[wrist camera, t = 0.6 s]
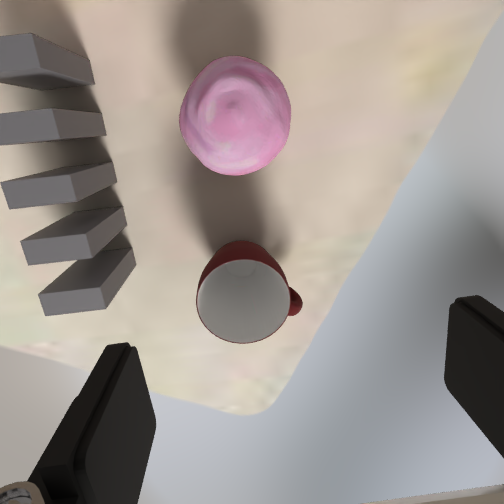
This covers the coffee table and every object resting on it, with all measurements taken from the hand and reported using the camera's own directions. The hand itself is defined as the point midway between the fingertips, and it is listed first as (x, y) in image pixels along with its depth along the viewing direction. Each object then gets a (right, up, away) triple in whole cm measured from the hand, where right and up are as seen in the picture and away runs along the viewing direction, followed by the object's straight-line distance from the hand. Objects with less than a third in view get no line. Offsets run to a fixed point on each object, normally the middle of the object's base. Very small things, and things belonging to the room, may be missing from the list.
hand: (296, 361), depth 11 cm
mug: (-1, +2, +29) cm, 29 cm away
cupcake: (-3, +16, +24) cm, 29 cm away
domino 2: (-18, +15, +24) cm, 33 cm away
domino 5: (-17, +3, +28) cm, 33 cm away
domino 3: (-18, +11, +25) cm, 32 cm away
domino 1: (-18, +19, +22) cm, 35 cm away
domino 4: (-17, +7, +27) cm, 32 cm away
